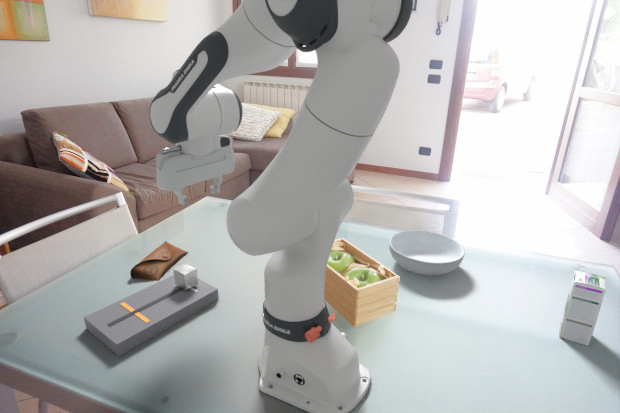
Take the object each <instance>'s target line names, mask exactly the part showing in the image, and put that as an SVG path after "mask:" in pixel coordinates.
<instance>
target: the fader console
mask: <svg viewBox="0 0 620 413" xmlns="http://www.w3.org/2000/svg"><path fill="white" fill-rule="evenodd" d="M219 298H220V297H219V288H217V287H215V286H213V285H211V284H209V283H207V282H206V281H203V279H202V280H201V279H200V278H198V285H196V286H194V287H192V288H190V289H188V290H184V289H183V288H181V287H179V286H177V285H176V284H175V278H174V274H173V275H171V276H169V277H166V278H164V279H162V280H159V281H157V282H156V283H153V284H151V285H150V286H147V287H145V288H143V289H141V290H138V291H137V292H134V293H132V294H130V295H128V296H126V297H124V298H122V299H120V300H118V301H116V302H114V303H112V304H109V305H107V306H105V307H103V308H101V309H98V310H96V311H94V312H93V313H90V314H88V315H86V316H84V317H83V320H84V324H85V329H86V330H88V331H89V332H90V333H91V334H92V335H93V336H94V337H95V338H97V339H98V340H99V341H101V343H103V344H104V345H105V346H106V347H107V348H108V349H110V350H111V351H112V352H113V353H115V355H117V357H121V356H122V355H124V354H126V353H128V352H129V351H131V350H132V349H133V350H134V348H136V347H138V346H140V345H141V344H143V343H145V342H148V341H149V340H150V339H152V338H154V337H155V336H157V335H159V334H162V332H165V331H166V330H168V329H169V328H171V327H173V326H174V325H177V324H179V323H180V322H182V321H183V320H185V319H187V318H188V317H190V316H192V315H194V314H196V313H198V312H199V311H201V310H202V309H204V308H206V307H208V306H210V305H212V303H215V302H217V301H218V300H219Z"/></svg>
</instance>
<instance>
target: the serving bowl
mask: <svg viewBox="0 0 620 413" xmlns="http://www.w3.org/2000/svg"><path fill="white" fill-rule="evenodd" d="M388 242H389V243H388V245H389V251H390V254H391V257H392V258H393V259H394V261H395V263H397V265H399V266H401V267H402V268H404V269H405V270H408V271H410V272H412V273H415V274H420V275H424V276H442V275H445V274H448V273H451V272H452V271H455V270H456V269H457V268H458V267H459V266H460V265H461V263H462V262H463V260H464V257H465V248H464V247H463V245H462V244H461V243H459V241H457V240H455V239H453V238H452V237H450V236H447V235H445V234H443V233H439V232H434V231H429V230H422V229H421V230H419V229H415V230H412V229H411V230H404V231H400V232H397V233H395V234H393V235H392V236H391V237H390V238H389V241H388Z"/></svg>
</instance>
